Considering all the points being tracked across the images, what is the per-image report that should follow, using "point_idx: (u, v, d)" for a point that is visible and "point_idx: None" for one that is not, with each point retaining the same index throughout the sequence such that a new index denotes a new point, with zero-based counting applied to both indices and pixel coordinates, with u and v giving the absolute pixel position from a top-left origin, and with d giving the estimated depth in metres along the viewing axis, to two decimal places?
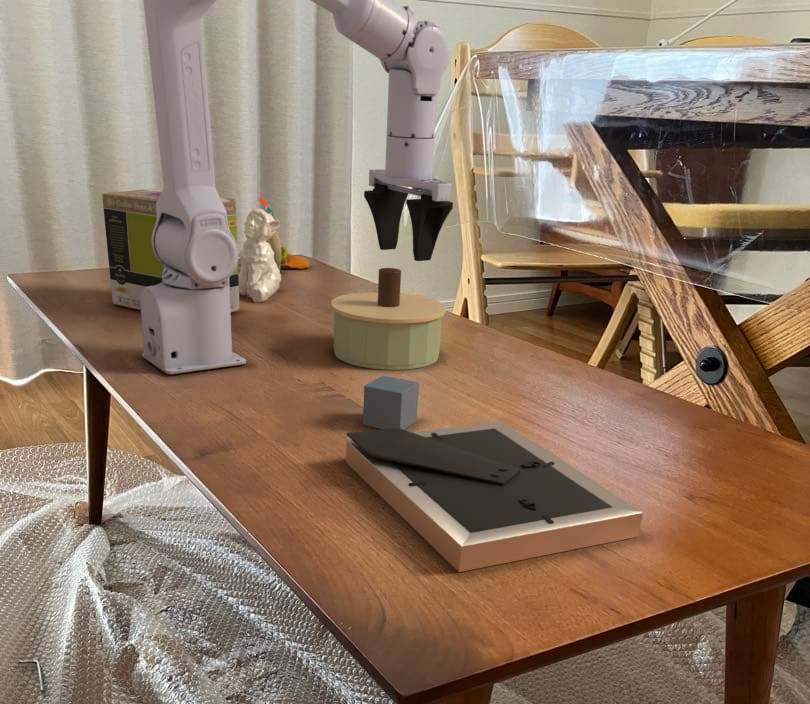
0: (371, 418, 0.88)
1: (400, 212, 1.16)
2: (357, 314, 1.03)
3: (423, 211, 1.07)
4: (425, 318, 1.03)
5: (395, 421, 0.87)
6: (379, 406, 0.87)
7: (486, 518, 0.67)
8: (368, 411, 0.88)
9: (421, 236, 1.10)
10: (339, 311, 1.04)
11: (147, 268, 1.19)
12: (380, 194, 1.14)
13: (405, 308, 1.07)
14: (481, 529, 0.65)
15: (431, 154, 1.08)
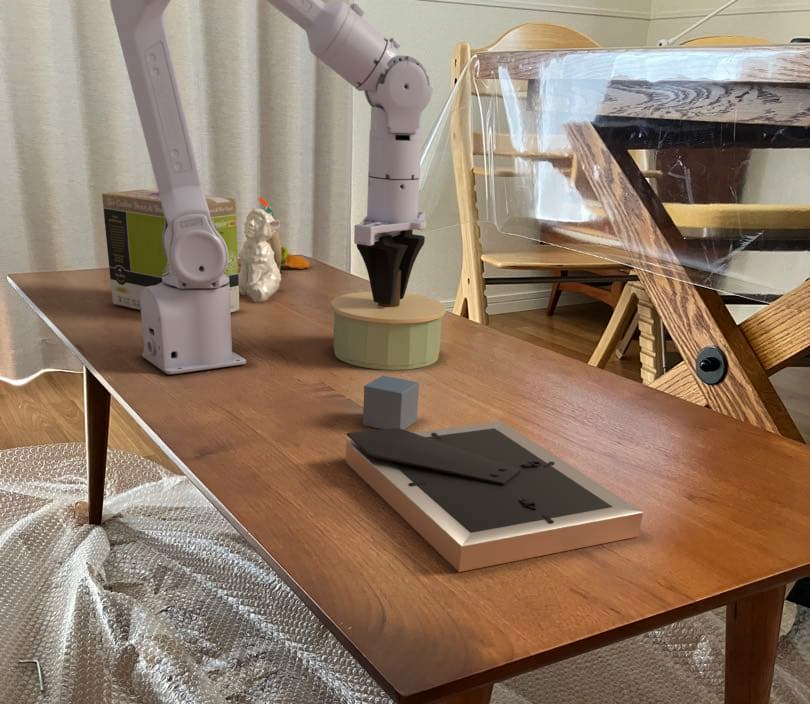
0: (371, 418, 0.88)
1: (408, 261, 1.06)
2: (357, 314, 1.03)
3: (362, 249, 1.03)
4: (425, 318, 1.03)
5: (395, 421, 0.87)
6: (379, 406, 0.87)
7: (486, 518, 0.67)
8: (368, 411, 0.88)
9: (376, 277, 1.05)
10: (339, 311, 1.04)
11: (147, 268, 1.19)
12: None
13: (405, 308, 1.07)
14: (481, 529, 0.65)
15: (395, 197, 1.00)
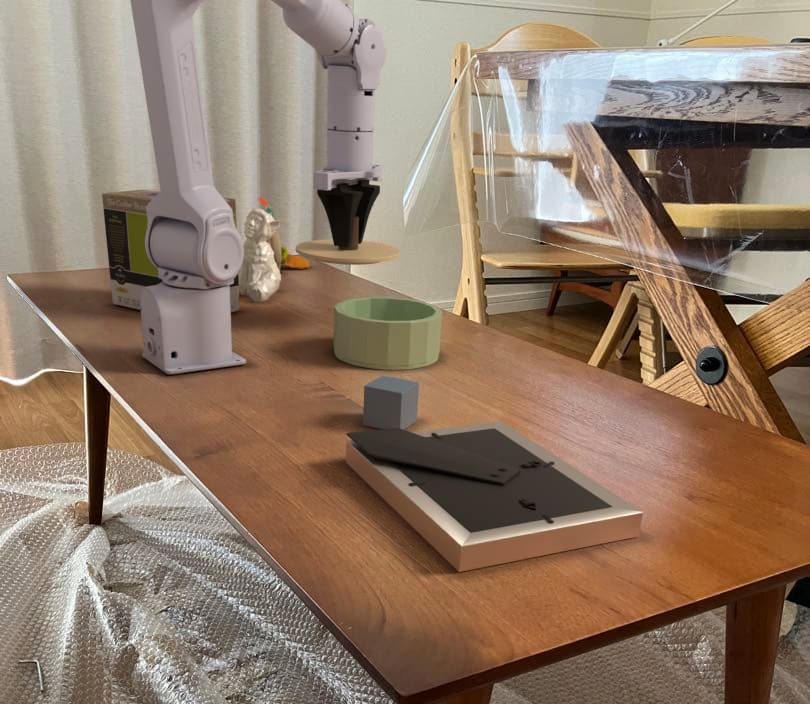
0: (371, 418, 0.88)
1: (365, 208, 1.17)
2: (318, 255, 1.14)
3: (322, 196, 1.13)
4: (379, 258, 1.14)
5: (395, 421, 0.87)
6: (379, 406, 0.87)
7: (486, 518, 0.67)
8: (368, 411, 0.88)
9: (335, 222, 1.16)
10: (302, 253, 1.15)
11: (147, 268, 1.19)
12: None
13: (363, 251, 1.18)
14: (481, 529, 0.65)
15: (350, 147, 1.11)
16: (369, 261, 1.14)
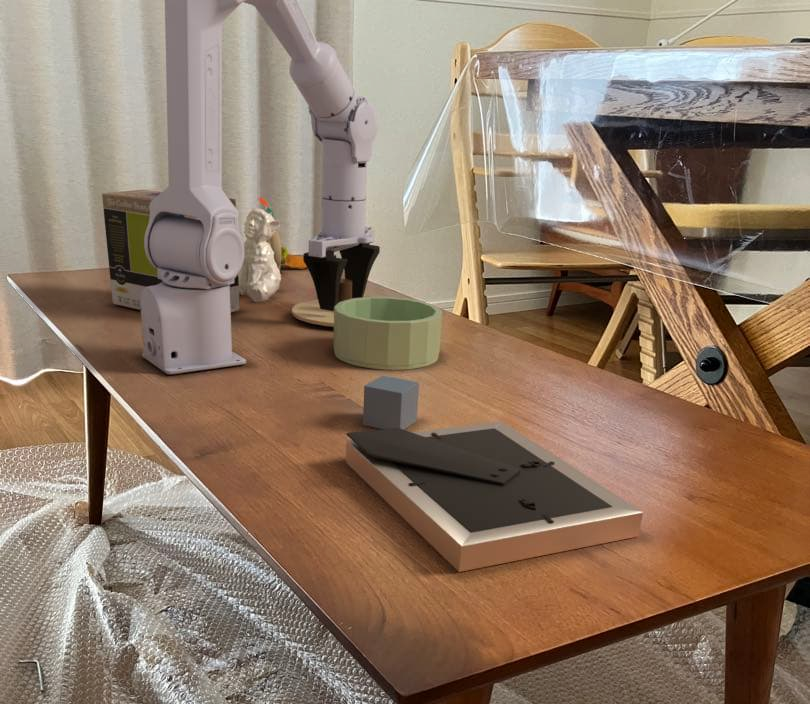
0: (371, 418, 0.88)
1: (366, 268, 1.24)
2: (313, 319, 1.19)
3: (308, 263, 1.17)
4: None
5: (395, 421, 0.87)
6: (379, 406, 0.87)
7: (486, 518, 0.67)
8: (368, 411, 0.88)
9: (321, 287, 1.19)
10: (298, 316, 1.21)
11: (147, 268, 1.19)
12: (347, 247, 1.25)
13: None
14: (481, 529, 0.65)
15: (344, 215, 1.16)
16: None
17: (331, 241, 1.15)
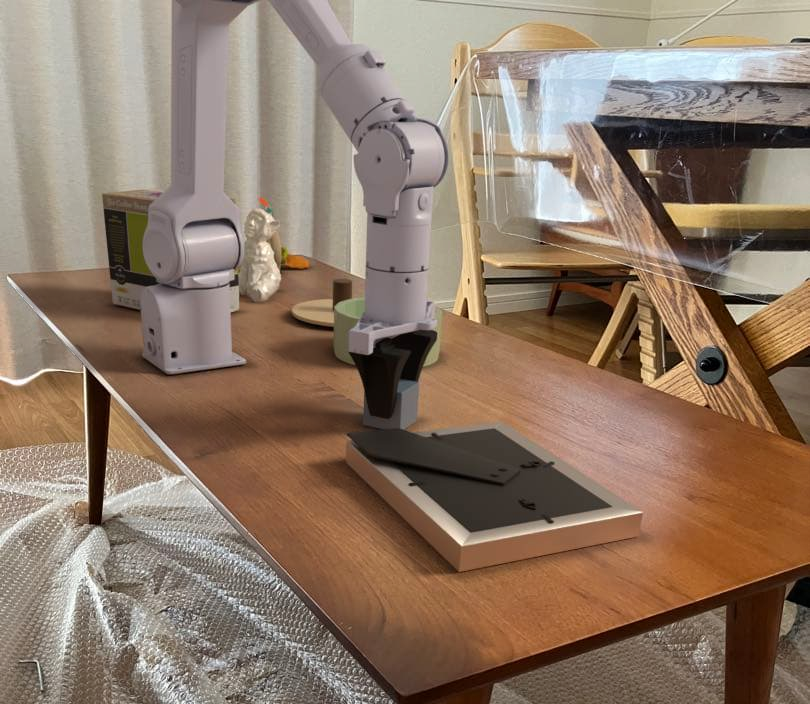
0: (371, 418, 0.88)
1: (417, 362, 0.88)
2: (313, 319, 1.19)
3: (355, 356, 0.83)
4: None
5: (395, 421, 0.87)
6: None
7: (486, 518, 0.67)
8: (368, 411, 0.88)
9: (372, 386, 0.86)
10: (298, 316, 1.21)
11: (147, 268, 1.19)
12: None
13: None
14: (481, 529, 0.65)
15: (399, 293, 0.81)
16: None
17: (381, 331, 0.80)
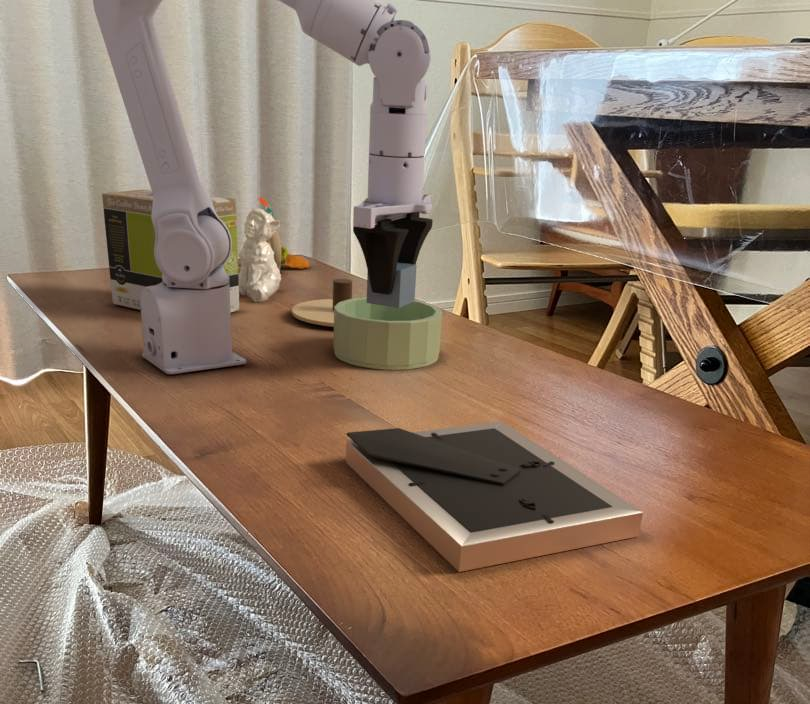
0: (373, 296, 0.99)
1: (415, 246, 0.99)
2: (313, 319, 1.19)
3: (359, 235, 0.94)
4: None
5: (395, 297, 0.98)
6: None
7: (486, 518, 0.67)
8: (371, 289, 0.99)
9: (374, 264, 0.96)
10: (298, 316, 1.21)
11: (147, 268, 1.19)
12: (391, 221, 0.99)
13: None
14: (481, 529, 0.65)
15: (398, 176, 0.92)
16: None
17: (382, 208, 0.91)
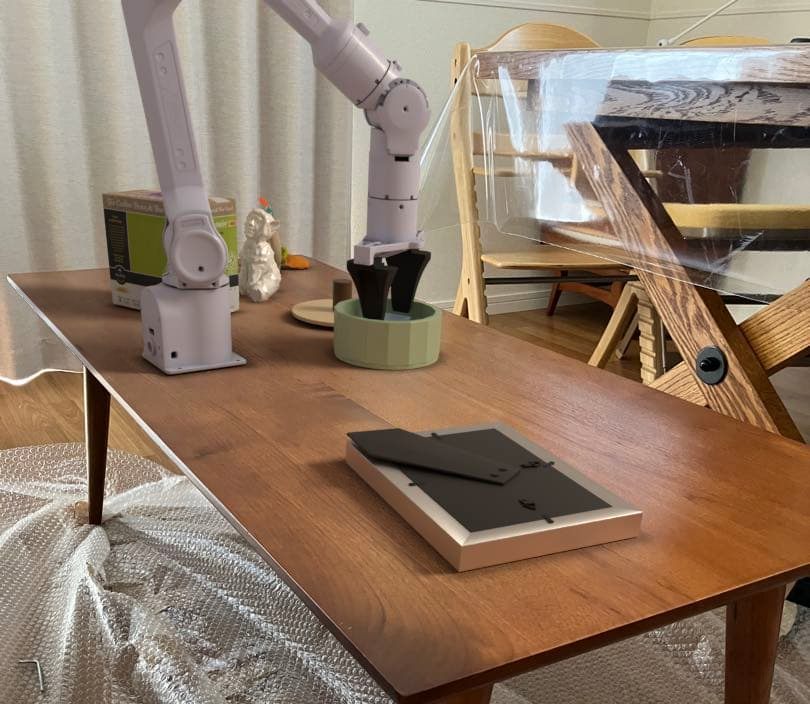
0: None
1: (415, 276, 1.09)
2: (313, 319, 1.19)
3: (353, 272, 1.02)
4: None
5: None
6: None
7: (486, 518, 0.67)
8: None
9: (366, 299, 1.04)
10: (298, 316, 1.21)
11: (147, 268, 1.19)
12: None
13: None
14: (481, 529, 0.65)
15: (394, 217, 1.01)
16: None
17: (380, 246, 1.00)
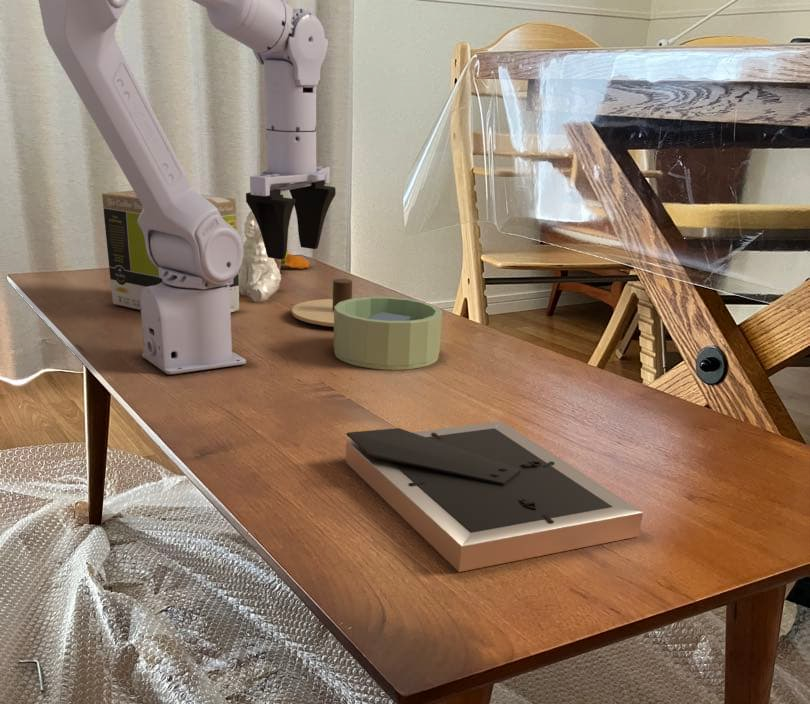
0: None
1: (320, 211, 1.11)
2: (313, 319, 1.19)
3: (252, 204, 1.03)
4: None
5: None
6: None
7: (486, 518, 0.67)
8: None
9: (267, 232, 1.06)
10: (298, 316, 1.21)
11: (147, 268, 1.19)
12: (299, 189, 1.11)
13: None
14: (481, 529, 0.65)
15: (291, 148, 1.02)
16: None
17: (276, 178, 1.01)
